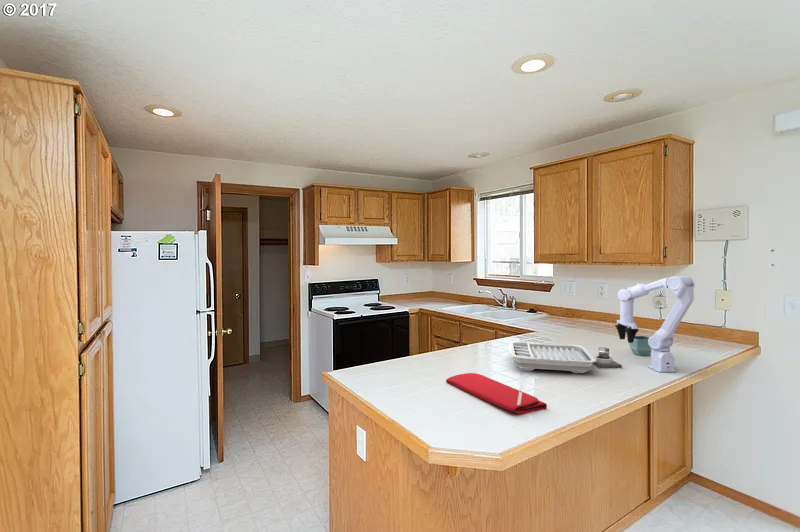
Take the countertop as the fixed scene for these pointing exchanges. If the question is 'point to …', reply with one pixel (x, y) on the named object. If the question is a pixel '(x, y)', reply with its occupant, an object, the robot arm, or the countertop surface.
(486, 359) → the countertop surface
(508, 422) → the countertop surface
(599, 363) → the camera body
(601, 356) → the lens
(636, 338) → the flower pot
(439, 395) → the countertop surface
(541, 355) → the dish rack
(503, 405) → the red folded towel
